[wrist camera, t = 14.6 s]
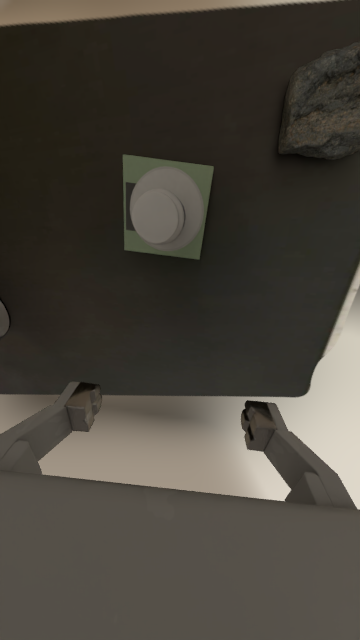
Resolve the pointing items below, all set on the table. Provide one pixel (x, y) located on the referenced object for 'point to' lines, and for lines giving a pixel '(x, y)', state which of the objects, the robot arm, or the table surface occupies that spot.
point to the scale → (184, 183)
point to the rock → (323, 107)
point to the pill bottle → (158, 216)
